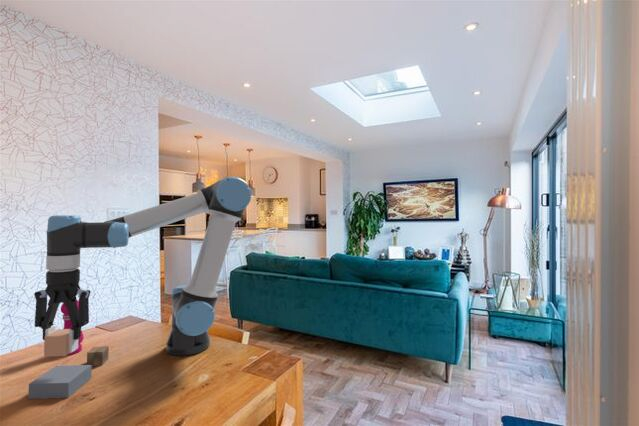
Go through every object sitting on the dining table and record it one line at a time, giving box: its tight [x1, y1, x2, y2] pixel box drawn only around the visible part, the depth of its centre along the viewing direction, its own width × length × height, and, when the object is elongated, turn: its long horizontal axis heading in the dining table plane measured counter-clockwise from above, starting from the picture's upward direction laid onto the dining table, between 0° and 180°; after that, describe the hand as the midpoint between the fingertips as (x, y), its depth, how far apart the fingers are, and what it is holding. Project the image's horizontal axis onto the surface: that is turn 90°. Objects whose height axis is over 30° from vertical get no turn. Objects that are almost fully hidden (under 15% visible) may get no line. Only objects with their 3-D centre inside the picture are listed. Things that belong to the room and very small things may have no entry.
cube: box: [43, 328, 79, 357], centre depth 91 cm, size 6×6×6 cm
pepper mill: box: [60, 299, 85, 356], centre depth 113 cm, size 7×7×20 cm
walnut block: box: [86, 345, 109, 367], centre depth 106 cm, size 4×4×4 cm
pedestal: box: [28, 364, 93, 400], centre depth 91 cm, size 10×10×4 cm
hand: (61, 350), depth 91 cm, fingers closed on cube, 5 cm apart
